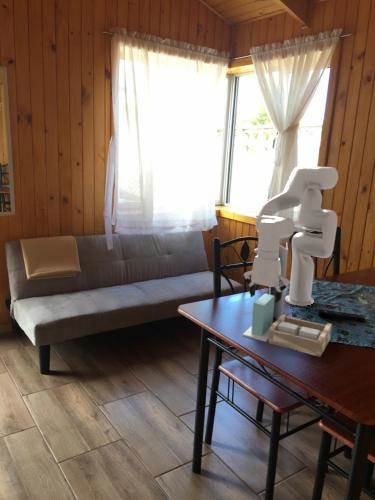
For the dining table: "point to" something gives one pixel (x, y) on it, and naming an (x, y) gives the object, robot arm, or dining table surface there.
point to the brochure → (272, 291)
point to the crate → (296, 341)
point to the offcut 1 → (288, 328)
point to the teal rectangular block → (262, 314)
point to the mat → (262, 338)
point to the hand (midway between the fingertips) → (264, 298)
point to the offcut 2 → (309, 333)
